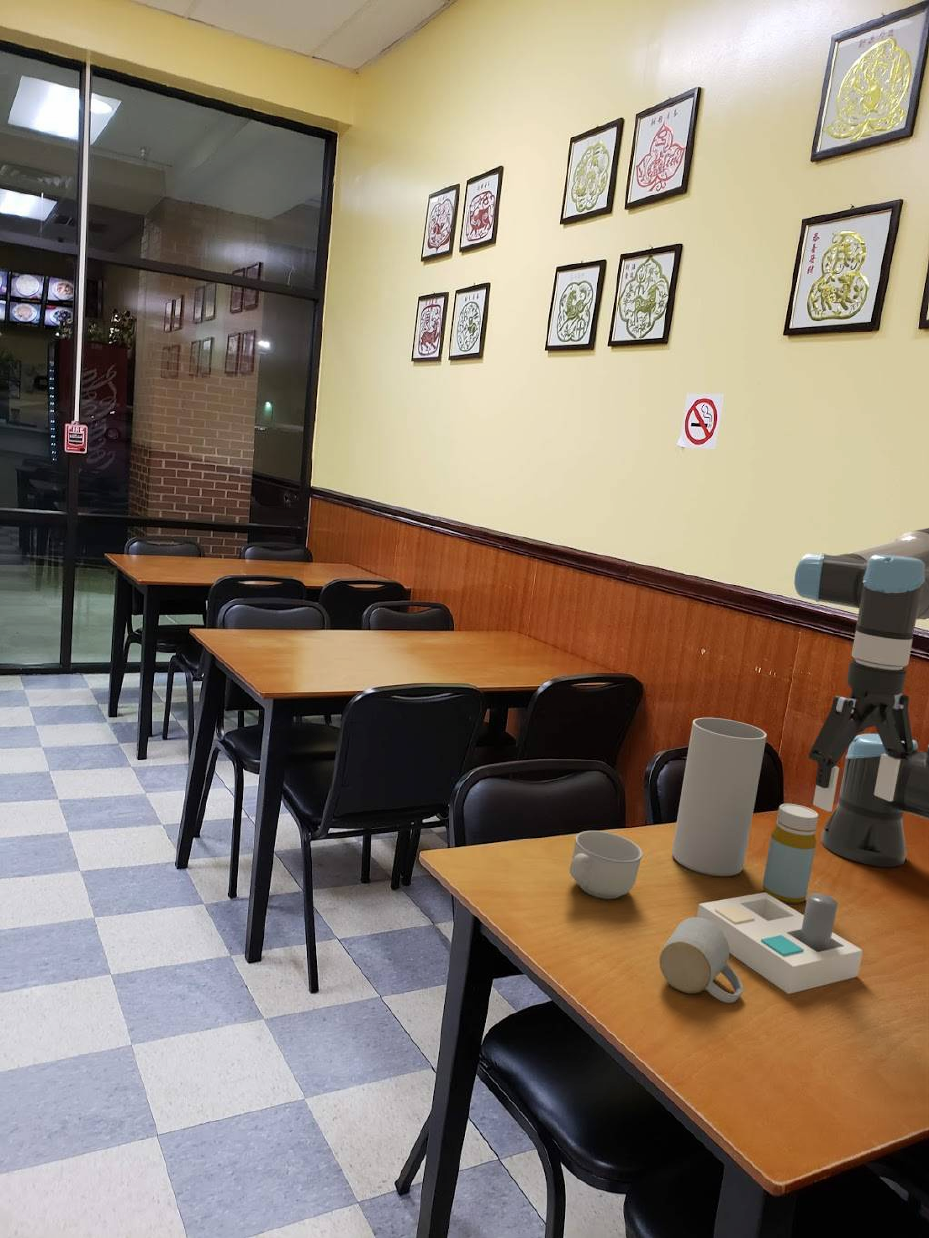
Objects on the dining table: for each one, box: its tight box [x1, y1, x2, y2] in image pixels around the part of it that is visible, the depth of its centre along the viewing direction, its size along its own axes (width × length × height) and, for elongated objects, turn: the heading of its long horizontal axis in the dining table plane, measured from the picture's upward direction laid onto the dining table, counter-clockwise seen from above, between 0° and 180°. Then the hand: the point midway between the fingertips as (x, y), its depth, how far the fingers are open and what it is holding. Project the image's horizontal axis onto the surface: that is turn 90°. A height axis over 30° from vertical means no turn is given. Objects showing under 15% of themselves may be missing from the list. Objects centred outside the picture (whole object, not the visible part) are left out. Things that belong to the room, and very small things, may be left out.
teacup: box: [569, 830, 644, 900], centre depth 145 cm, size 14×11×8 cm
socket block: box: [696, 891, 864, 995], centre depth 132 cm, size 14×18×4 cm
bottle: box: [761, 803, 819, 905], centre depth 151 cm, size 7×7×15 cm
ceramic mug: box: [659, 916, 744, 1004], centre depth 120 cm, size 11×8×8 cm
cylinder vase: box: [671, 717, 768, 877], centre depth 160 cm, size 12×12×25 cm
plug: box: [799, 892, 839, 952], centre depth 129 cm, size 4×4×10 cm
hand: (853, 803), depth 134 cm, fingers open, 13 cm apart
